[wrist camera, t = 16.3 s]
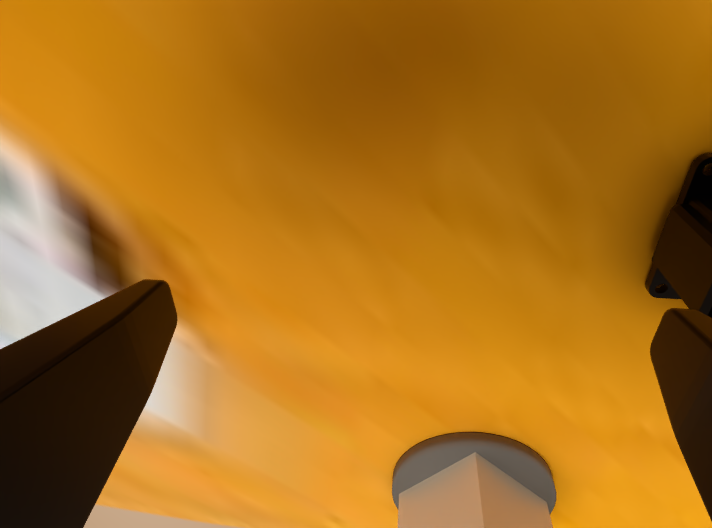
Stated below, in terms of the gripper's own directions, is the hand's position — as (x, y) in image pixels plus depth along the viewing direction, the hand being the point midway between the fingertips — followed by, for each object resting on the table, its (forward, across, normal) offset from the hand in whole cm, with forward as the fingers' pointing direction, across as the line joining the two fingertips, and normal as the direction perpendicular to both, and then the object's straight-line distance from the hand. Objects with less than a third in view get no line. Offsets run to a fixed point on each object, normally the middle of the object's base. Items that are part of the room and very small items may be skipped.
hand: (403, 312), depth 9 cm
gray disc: (+12, -5, +23) cm, 26 cm away
